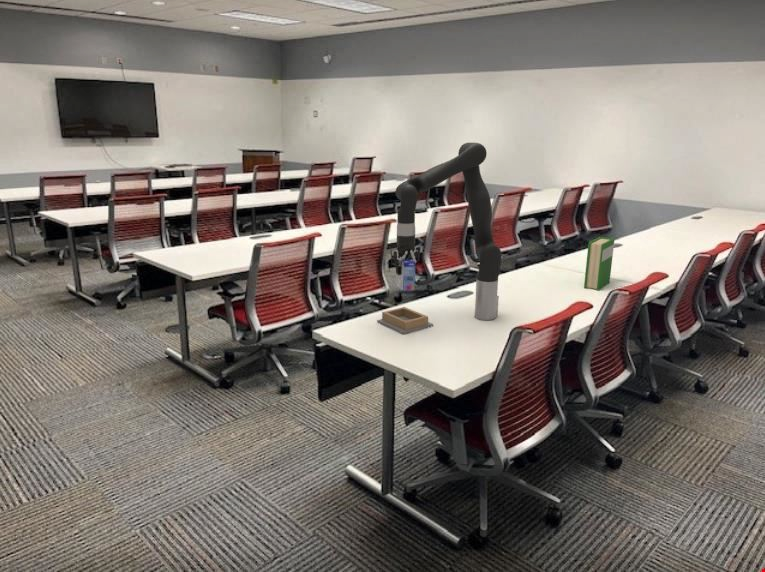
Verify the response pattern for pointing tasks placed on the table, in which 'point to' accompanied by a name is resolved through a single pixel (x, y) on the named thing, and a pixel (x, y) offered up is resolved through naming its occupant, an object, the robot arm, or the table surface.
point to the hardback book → (599, 263)
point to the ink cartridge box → (406, 275)
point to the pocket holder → (404, 320)
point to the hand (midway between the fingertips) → (405, 273)
